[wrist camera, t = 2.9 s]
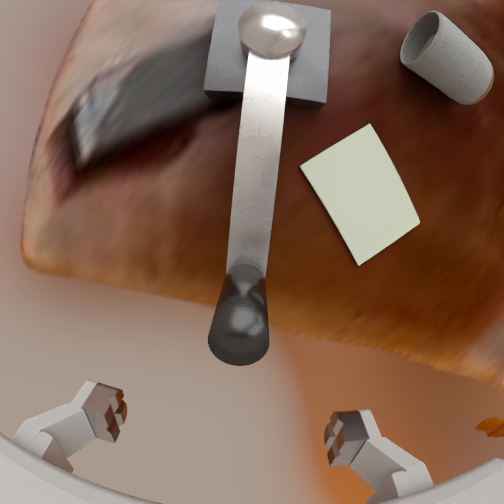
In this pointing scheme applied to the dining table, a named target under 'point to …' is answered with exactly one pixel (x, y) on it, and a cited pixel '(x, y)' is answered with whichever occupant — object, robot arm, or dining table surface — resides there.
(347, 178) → the mat
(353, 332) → the dining table surface
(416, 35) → the ceramic mug
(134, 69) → the dining table surface
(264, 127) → the lever arm
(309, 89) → the lever base
